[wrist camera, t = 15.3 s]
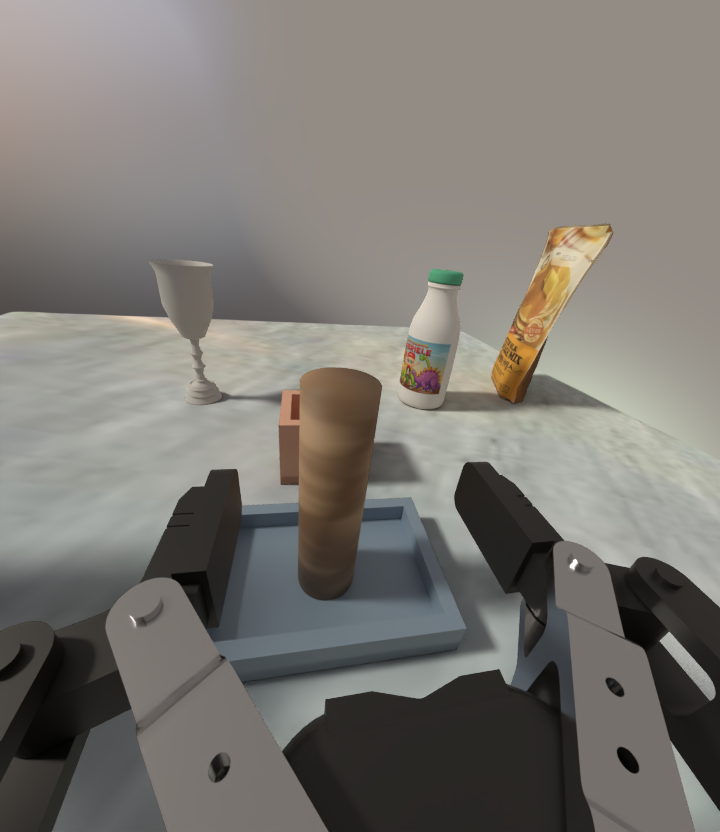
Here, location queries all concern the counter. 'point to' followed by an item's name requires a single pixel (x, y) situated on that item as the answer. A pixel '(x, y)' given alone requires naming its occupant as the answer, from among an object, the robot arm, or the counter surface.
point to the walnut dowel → (333, 475)
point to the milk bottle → (432, 343)
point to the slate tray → (339, 618)
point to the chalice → (189, 314)
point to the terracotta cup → (289, 436)
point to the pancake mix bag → (546, 303)
